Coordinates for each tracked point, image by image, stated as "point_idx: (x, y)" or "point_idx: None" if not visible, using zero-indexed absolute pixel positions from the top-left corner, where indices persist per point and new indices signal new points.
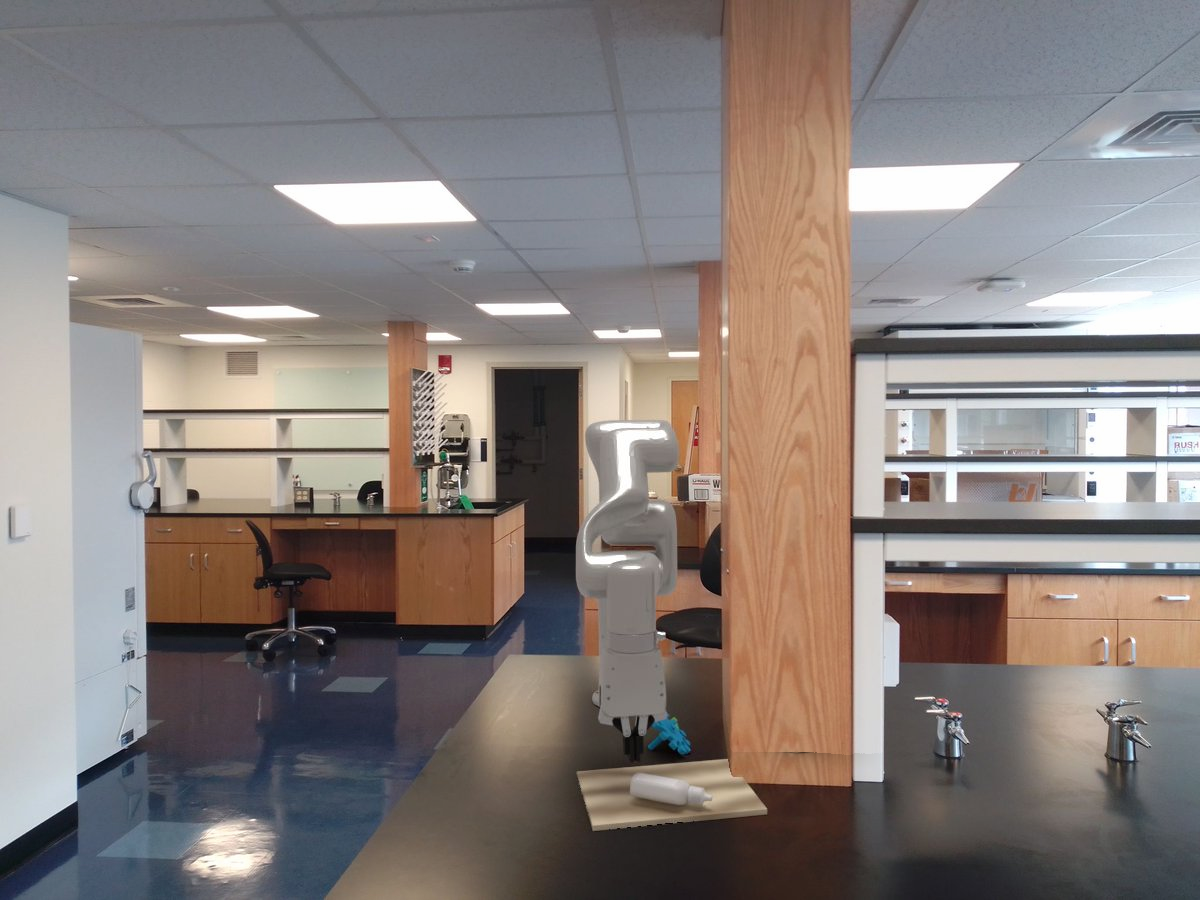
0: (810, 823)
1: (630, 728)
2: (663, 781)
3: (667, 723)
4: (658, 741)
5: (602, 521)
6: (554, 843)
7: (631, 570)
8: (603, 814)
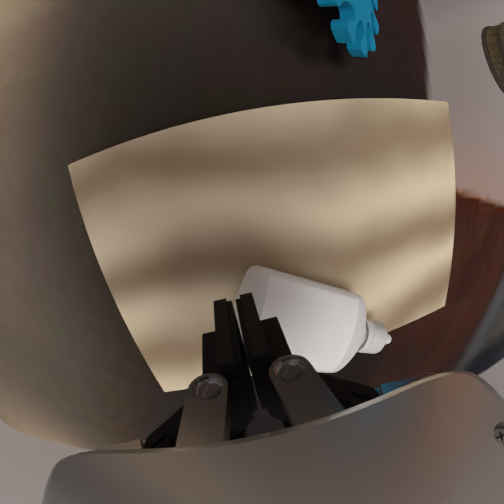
0: (464, 312)
1: (243, 399)
2: (313, 362)
3: None
4: None
5: None
6: (120, 405)
7: None
8: (174, 363)
